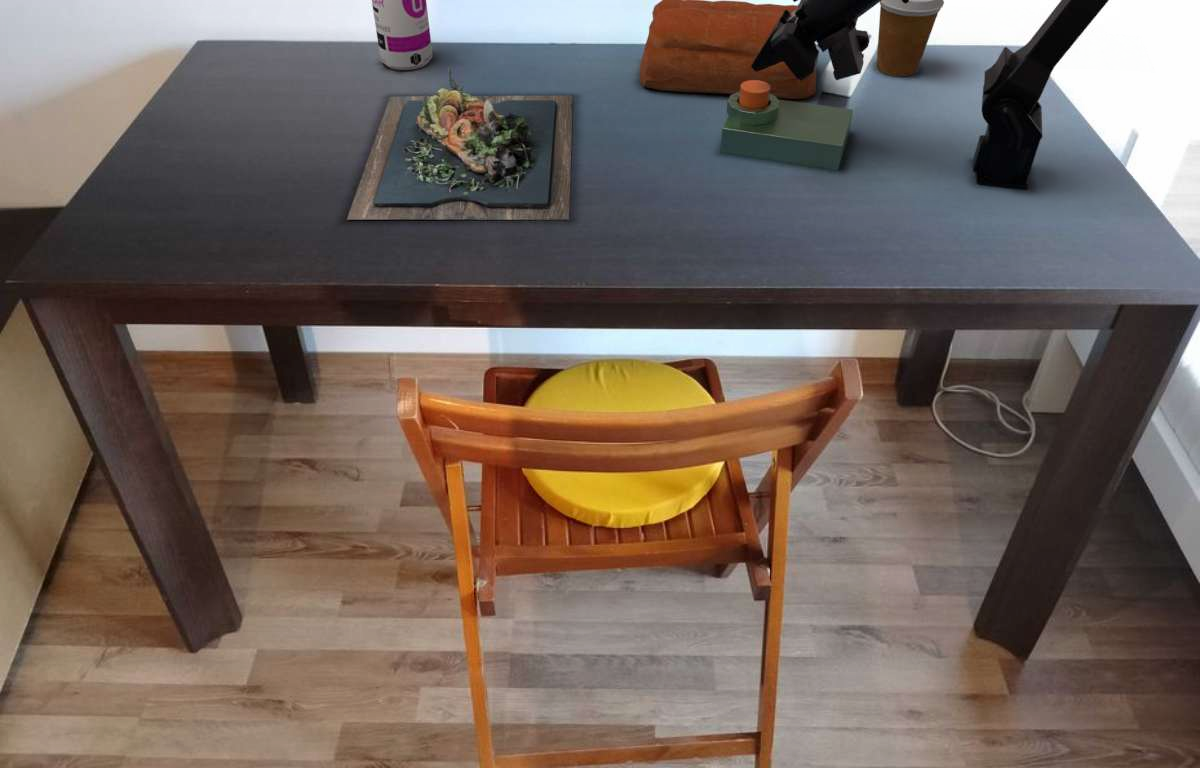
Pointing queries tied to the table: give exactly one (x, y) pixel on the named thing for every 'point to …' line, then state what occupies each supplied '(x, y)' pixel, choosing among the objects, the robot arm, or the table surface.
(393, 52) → the supplement can
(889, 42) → the disposable coffee cup
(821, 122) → the block
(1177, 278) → the table surface
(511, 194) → the plated dish
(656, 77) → the bread
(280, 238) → the table surface
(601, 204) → the table surface
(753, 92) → the button
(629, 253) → the table surface
